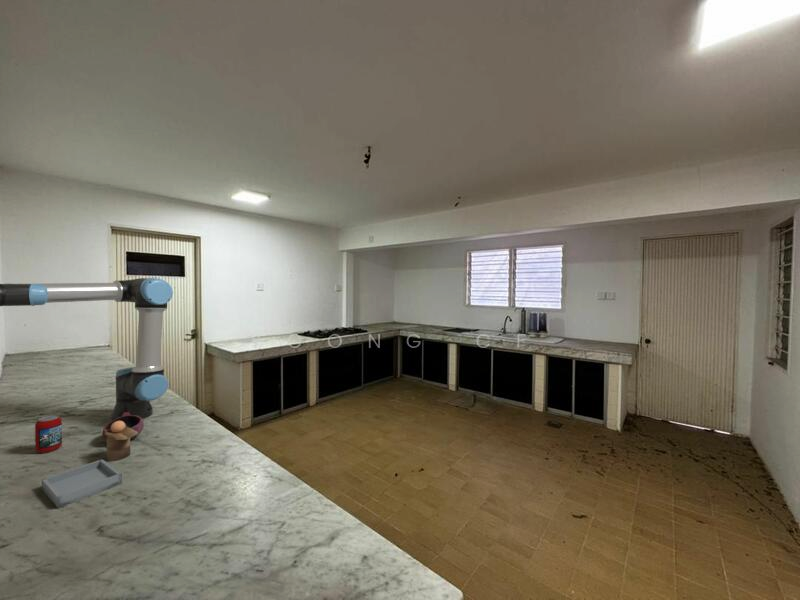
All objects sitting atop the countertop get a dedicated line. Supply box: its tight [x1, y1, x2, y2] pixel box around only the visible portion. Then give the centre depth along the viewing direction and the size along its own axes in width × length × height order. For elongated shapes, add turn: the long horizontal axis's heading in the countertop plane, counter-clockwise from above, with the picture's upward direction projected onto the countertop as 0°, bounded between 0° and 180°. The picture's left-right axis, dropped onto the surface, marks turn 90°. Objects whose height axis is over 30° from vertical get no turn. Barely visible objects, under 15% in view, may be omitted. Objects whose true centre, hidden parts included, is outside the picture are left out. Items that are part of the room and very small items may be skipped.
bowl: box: [101, 412, 145, 442], centre depth 132 cm, size 16×13×8 cm
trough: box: [105, 425, 139, 462], centre depth 117 cm, size 6×11×10 cm, turn 58°
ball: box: [111, 421, 125, 433], centre depth 118 cm, size 4×4×4 cm
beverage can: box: [34, 414, 63, 454], centre depth 122 cm, size 7×7×12 cm
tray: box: [41, 458, 123, 509], centre depth 100 cm, size 14×16×3 cm
